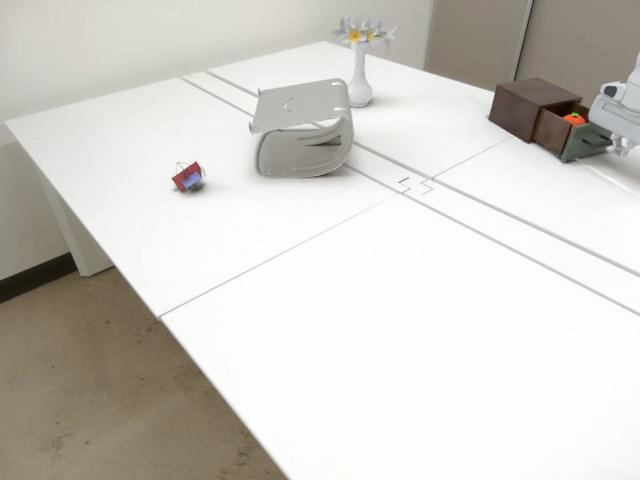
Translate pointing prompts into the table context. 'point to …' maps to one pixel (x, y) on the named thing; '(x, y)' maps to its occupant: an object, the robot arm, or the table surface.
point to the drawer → (582, 137)
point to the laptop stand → (295, 147)
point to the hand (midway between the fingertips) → (618, 154)
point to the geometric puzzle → (189, 176)
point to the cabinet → (526, 104)
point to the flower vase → (361, 54)
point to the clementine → (574, 120)
